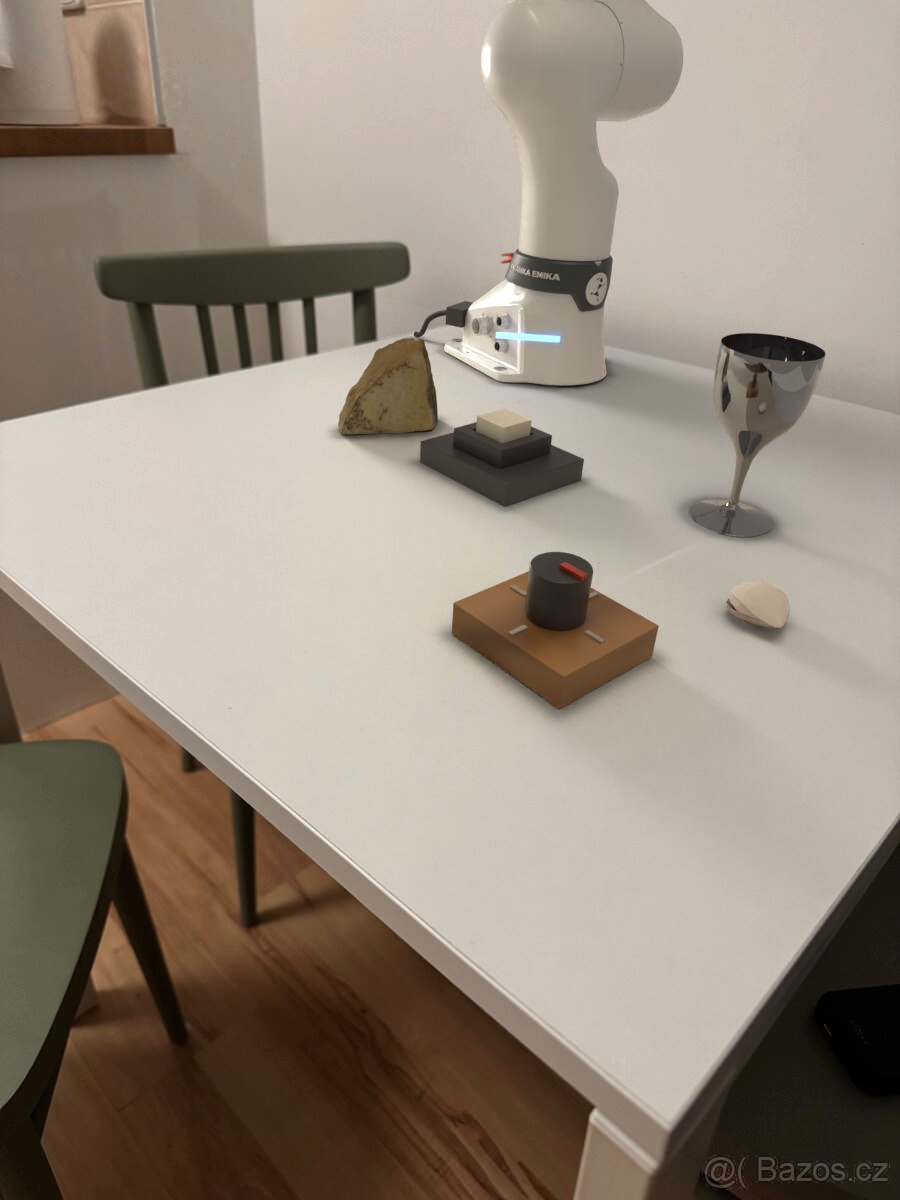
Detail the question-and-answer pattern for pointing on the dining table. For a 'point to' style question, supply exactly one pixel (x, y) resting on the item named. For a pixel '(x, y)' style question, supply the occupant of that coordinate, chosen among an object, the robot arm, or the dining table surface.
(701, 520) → the wine glass
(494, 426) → the cream square button
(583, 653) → the volume panel
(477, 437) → the button base
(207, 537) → the dining table surface
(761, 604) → the clam shell
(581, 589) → the volume knob
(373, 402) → the rock
